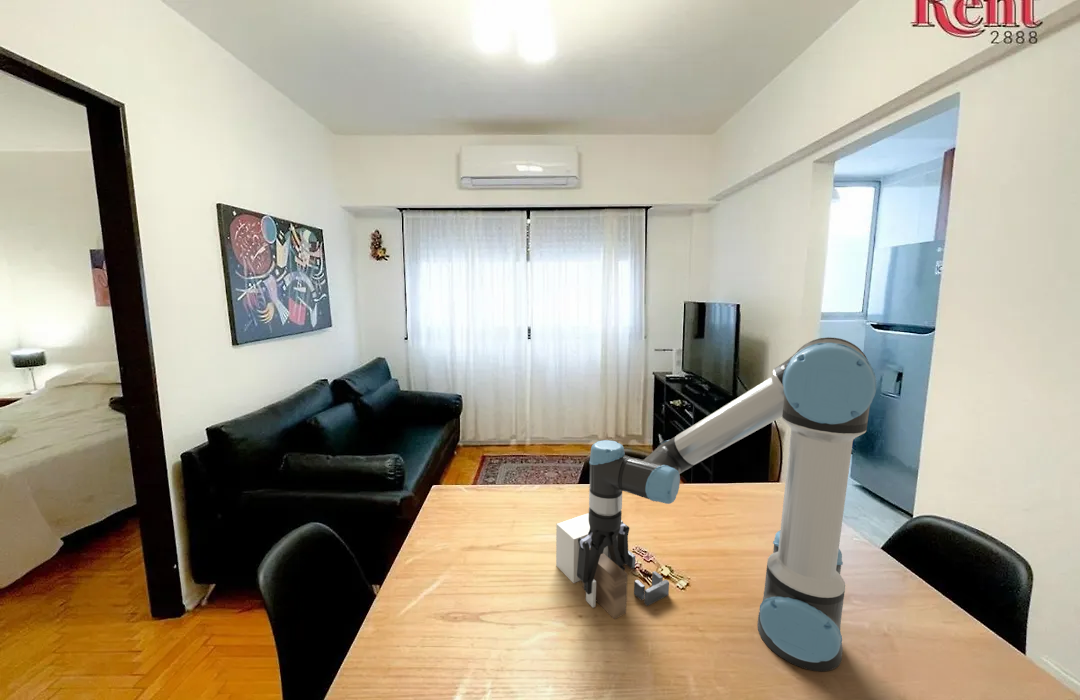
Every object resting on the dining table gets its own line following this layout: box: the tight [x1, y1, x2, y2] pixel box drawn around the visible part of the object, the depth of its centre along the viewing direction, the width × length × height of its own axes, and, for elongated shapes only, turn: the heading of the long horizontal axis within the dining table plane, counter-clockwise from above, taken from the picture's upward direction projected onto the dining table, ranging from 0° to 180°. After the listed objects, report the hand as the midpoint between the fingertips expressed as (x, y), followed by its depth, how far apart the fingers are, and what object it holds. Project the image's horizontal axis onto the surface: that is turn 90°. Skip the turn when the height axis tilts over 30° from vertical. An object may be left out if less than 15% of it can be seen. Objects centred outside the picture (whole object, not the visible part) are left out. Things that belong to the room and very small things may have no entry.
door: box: [581, 553, 628, 620], centre depth 98 cm, size 12×4×10 cm, turn 31°
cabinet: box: [555, 512, 624, 584], centre depth 111 cm, size 8×16×12 cm, turn 121°
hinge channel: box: [608, 538, 670, 607], centre depth 104 cm, size 15×7×8 cm, turn 31°
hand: (602, 597), depth 99 cm, fingers open, 6 cm apart
